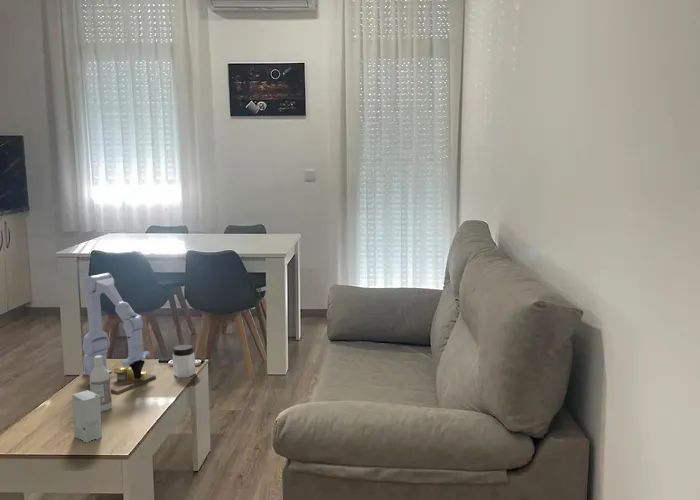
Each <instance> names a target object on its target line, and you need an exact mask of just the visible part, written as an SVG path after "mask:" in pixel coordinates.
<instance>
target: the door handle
mask: <svg viewBox="0 0 700 500" xmlns="http://www.w3.org/2000/svg"><path fill="white" fill-rule="evenodd" d="M113 373H114V374H124V373H127V380H146V379H147V374H148V372H147V371H141V378H140V379H135V378H134V373H133V371H132V369H131V367H129V365H128V366H127V367H124V366H123V365H120V366H116V367H114V368H113Z"/></svg>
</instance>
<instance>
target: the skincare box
mask: <svg viewBox="0 0 700 500" xmlns="http://www.w3.org/2000/svg"><path fill="white" fill-rule="evenodd" d="M72 413H73V414H72V415H73V416H72V418H73V436H74V437H75V438H76V439H79V440H80V439H81V440H80V441H82V440H83V443H85V442H87V443H90V442H92V441H91V440H93V441H95V440H94V439H96V440H98V439H97V438H99V439H101V438H100V437H102V433H103V432H102V412H101V405H100V396H98V395H96V394H95V393H93V392H91V390H88V389H86V390H83V391H80V392H76V393H72ZM89 441H90V442H89Z"/></svg>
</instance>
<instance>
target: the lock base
mask: <svg viewBox="0 0 700 500" xmlns="http://www.w3.org/2000/svg"><path fill="white" fill-rule="evenodd" d="M128 366H129V365H128ZM129 367H130V366H129ZM156 378H157V376H156V375H154V374H151V373H150V374H149V373H147V379H146V380H127V373H124V374H115V373H114V374H111V375H110V385H111V394H116V395H119V394H121V393H124V392H126V391H129V390H131V389H134V388H135V387H138V386H141V385H143V384H145V383H147V382H150V381H153V380H155V379H156ZM87 387H88V388H90V383H87Z"/></svg>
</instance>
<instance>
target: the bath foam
mask: <svg viewBox="0 0 700 500" xmlns="http://www.w3.org/2000/svg"><path fill="white" fill-rule="evenodd" d="M94 365H95V367H94V368H93V370H92V372H91V374H90V376H89V384H90V387H89V388H90V390H89V391H91V392H93V393H95V394H96V395H98V396H100V405H101V413H102V412H105V411H109V410H111V409H112V407H113V401H112V398H113V397H112V393H111V385H110V376H111V375H110V373H109V372H108V371H107V370H108V368H107V369H106V368H105V367H104V366H103V359H102V356H101V355H97V356H94Z"/></svg>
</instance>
